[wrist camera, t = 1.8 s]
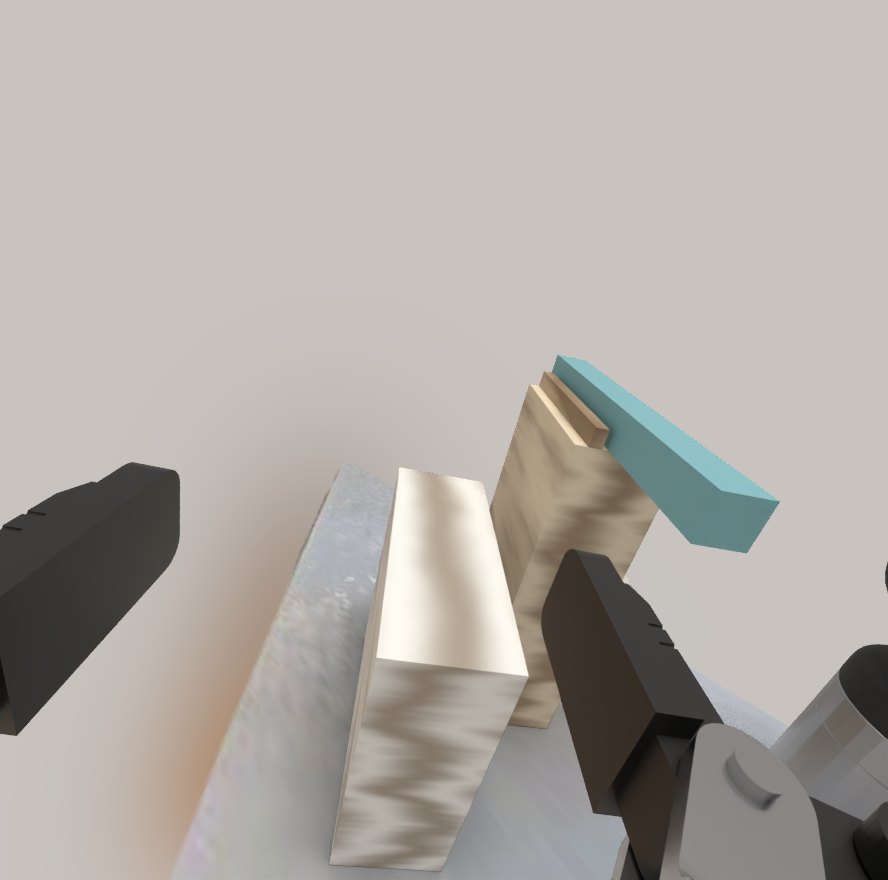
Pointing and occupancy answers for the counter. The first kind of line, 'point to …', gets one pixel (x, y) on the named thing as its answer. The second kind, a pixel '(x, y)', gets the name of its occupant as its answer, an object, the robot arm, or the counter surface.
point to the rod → (672, 465)
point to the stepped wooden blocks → (471, 626)
